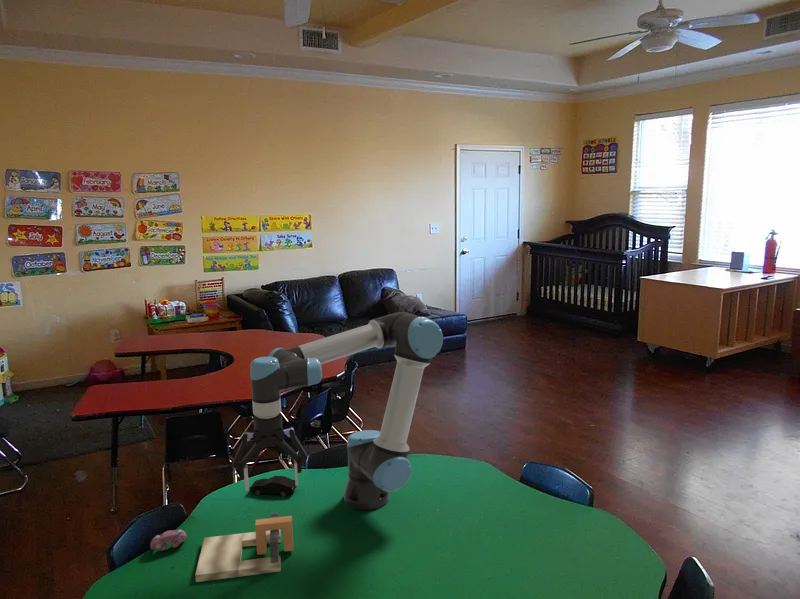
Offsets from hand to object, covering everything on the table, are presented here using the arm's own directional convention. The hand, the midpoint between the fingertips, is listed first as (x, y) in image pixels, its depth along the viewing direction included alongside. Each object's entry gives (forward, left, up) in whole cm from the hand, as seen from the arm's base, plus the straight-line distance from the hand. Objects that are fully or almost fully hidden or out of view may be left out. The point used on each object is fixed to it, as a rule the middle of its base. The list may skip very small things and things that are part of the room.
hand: (272, 486), depth 166 cm
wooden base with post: (+10, 0, -20) cm, 22 cm away
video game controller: (+31, -9, -21) cm, 38 cm away
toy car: (+1, -37, -21) cm, 42 cm away
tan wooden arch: (0, 0, -19) cm, 19 cm away
